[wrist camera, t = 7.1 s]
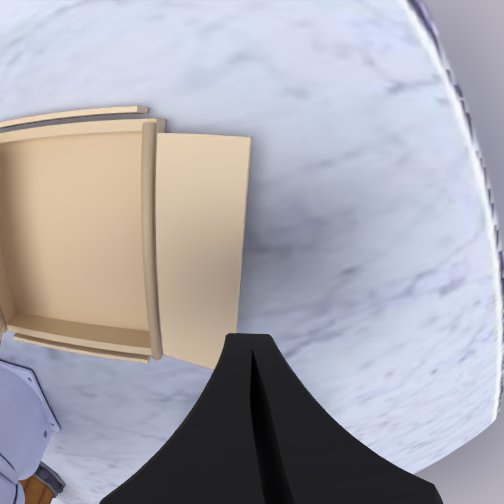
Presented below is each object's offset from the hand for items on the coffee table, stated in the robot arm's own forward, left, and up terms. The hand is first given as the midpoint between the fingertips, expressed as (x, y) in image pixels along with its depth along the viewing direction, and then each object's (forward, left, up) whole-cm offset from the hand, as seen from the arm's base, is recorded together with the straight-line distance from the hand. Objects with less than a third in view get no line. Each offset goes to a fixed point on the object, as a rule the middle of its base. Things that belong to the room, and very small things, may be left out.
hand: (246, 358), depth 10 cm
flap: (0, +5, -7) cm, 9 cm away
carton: (0, +11, -10) cm, 15 cm away
